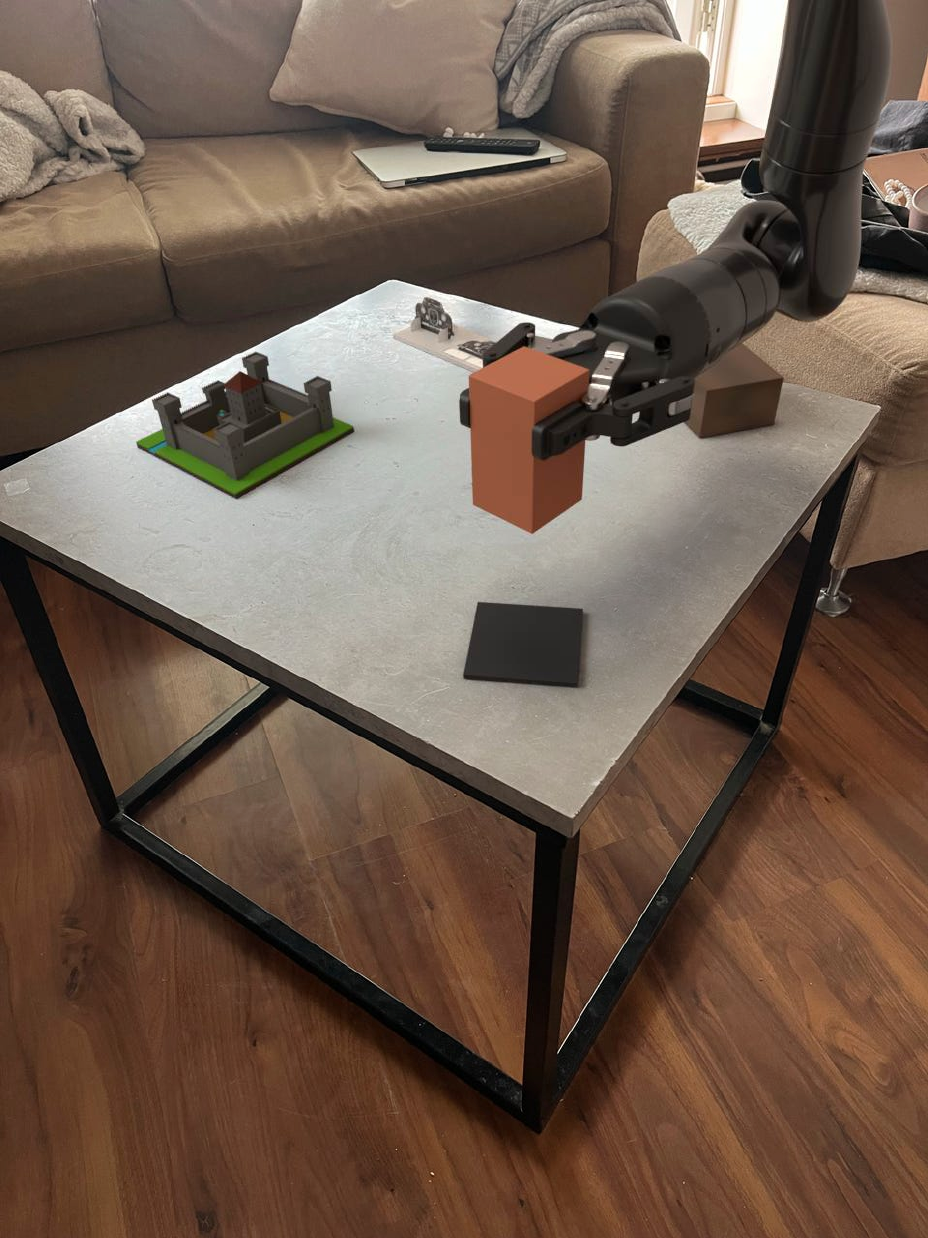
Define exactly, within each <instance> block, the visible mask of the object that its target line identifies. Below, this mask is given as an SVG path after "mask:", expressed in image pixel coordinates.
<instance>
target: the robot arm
mask: <svg viewBox="0 0 928 1238" xmlns="http://www.w3.org/2000/svg"><path fill="white" fill-rule="evenodd" d="M887 8H888V7H887V3H886V0H788V1H787V9H786V10H787V11H786V21H785V28H784V29H785V30H784V38H783V45H782V49H781V56H780V63H779V66H778V67H779V68H778V73H777V78H776V81H775V87H774V91H773V97H772V100H771V105H770V110H769V115H768V119H767V123H766V128H765V133H764V138H763V144H762V147H761V152H760V153H761V154H760V158H759V166H758V167H759V169H758V174H759V178H760V183H761V184H762V186H763V187H764V189H765V191H767V192H768V193H769V195H771V196H772V197H773V198H774V199H775V200H776V201H774V200H769V199H767V200H765V199H764V200H763V199H762V200H754V201H752V202H748V203H746V204H744V205H743V206H741V207H740V208H738V210H737V211H736V212H735V213H734V214H733V215H732V217H731V218H730V220H729V221H728V223H727V224H726V226H725V227H724V229H723V230H722V232H720V233H719V235H718V236H717V237H716V238H715V239H714V240H713V242H712V243H711V244H710V245H709V246H708V247H707V249H706V250H704V251H702V252H700V253H698V254H696V255H694V256H693V257H691V258H689V259H687V260H685V261H682V262H680V263H675V264H672V265H669V266H667V267H664V268H662V269H660V270H657V271H655V272H654V273H652V274H650V275H648V276H646V277H644V278H643V279H640V280H638V281H636V282H634V283H633V284H630V285H629V286H627V287H624V288H623V289H621V290H619V291H617V292H615V293H614V294H612V295H610V296H608V297H606V298H604V299H602V300H601V301H600V302H599V303H597V304H596V305H595V306H594V307H593V308H592V310H591V311H590V312H589V314H588V315H587V317H586V318H585V319H584V321H583V323H582V324H581V325H580V326H579V328H577V329H574V330H571V331H565V332H564V331H563V332H561V333H559V334H557V335H556V336H554V338H550V337H545V336H539V335H536V324H535V323H532V322H526V321H525V322H520V323H518V324H517V325H516V326H514V327H513V328H512V329H511V330H510V331H508V332H507V333H506V334H505V335H503V336H502V337H501V338H500V339H499V340H497V341H498V342H496V343H495V344H494V345H493V346H492V347H490V348H489V349H488V350H487V351H486V352H484V353H483V368H484V367H486V366H488V365H489V364H491V363H493V362H495V361H497V360H499V359H501V358H503V357H505V356H507V355H508V354H510V353H512V352H514V351H516V350H518V349H520V348H522V347H527V348H530V349H533V350H536V351H539V352H541V353H544V354H547V355H550V356H553V357H555V358H558V359H561V360H564V361H567V362H569V363H572V364H575V365H578V366H581V367H583V368H586V369H589V370H590V372H589V389H588V391H586V392H585V394H584V395H583V397H582V402H581V404H580V403H578V402H575V401H572V402H571V403H569V404H567V405H566V406H564V407H562V408H561V409H559V410H557V411H556V412H554V413H552V414H551V415H549V416H547V417H546V418H544V419H542V420H541V421H539V422H537V423H536V424H535V425H534V427H533V429H532V450H531V452H532V456H534V457H536V458H538V459H540V460H543V461H545V460H547V459H548V458H550V457H551V456H556V455H560V454H563V453H564V452H566V451H567V450H568V449H571V448H572V447H573V446H575V445H577V444H578V443H580V442H581V441H583V440H585V441H588V442H590V441H597V440H598V439H600V437H601V436H602V437H608V438H609V442H610V444H611V445H613V446H615V447H627V446H629V445H632V444H634V443H637V442H639V441H641V440H644V439H646V438H649V437H651V436H654V435H656V434H659V433H661V432H664V431H665V430H668V429H671V428H674V427H676V426H678V425H680V424H683V423H685V422H686V421H688V420H689V419H690V414H691V408H692V403H693V396H694V386H695V380H694V378H696V377H697V376H699V375H700V374H702V373H703V372H705V371H707V370H708V369H710V368H711V367H712V366H714V365H715V364H716V363H717V362H718V361H720V360H721V359H722V358H723V357H724V355H725V354H726V353H728V352H729V351H731V350H732V349H734V348H735V347H737V346H738V345H740V344H741V343H743V344H744V342H746V341H748V340H749V339H750V338H752V337H754V336H755V335H757V334H758V333H759V332H761V331H762V330H763V329H764V328H765V327H766V326H768V324H769V323H770V322H771V320H772V319H773V317H774V316H775V314H776V312H777V313H779V314H780V315H783V316H784V317H787V318H788V319H792V320H794V321H797V322H801V323H813V322H816V321H820V320H822V319H824V318H826V317H828V316H830V314H832V313H833V312H834V311H836V310H837V309H838V308H839V307H840V306H841V305H842V303H843V302H844V301H845V299H846V298H847V297H848V294H849V293H850V292H851V289H852V287H853V285H854V283H855V280H856V277H857V275H858V270H859V266H860V265H859V264H860V261H861V250H862V198H863V179H864V169H865V165H866V162H867V158H868V156H869V152H870V149H871V146H872V142H873V140H874V137H875V133H876V129H877V127H878V124H879V121H880V117H881V114H882V111H883V107H884V104H885V101H886V98H887V93H888V89H889V85H890V80H891V74H892V68H893V67H892V66H893V36H892V28H891V21H890V17H889V12H888V9H887ZM458 404H459V405H458V406H459V422H460V423H459V424H460V425H461V426H463V427H466V428H468V429H470V401H469V387H468V388H465V389H464V390H462V391H461V393H460V394H459V401H458ZM637 413H638V418H637V420H636V421H634V422H633V417H634V415H635V414H637Z"/></svg>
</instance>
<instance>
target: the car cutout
mask: <svg viewBox="0 0 928 1238" xmlns="http://www.w3.org/2000/svg"><path fill="white" fill-rule="evenodd" d="M414 311H415V316H414V319H413V320H412V321H411V323H410V326H409V327H406V328H404V329H402V330H399V331H397V332H395V333H393V334H392V338H393V339H395V340H397V341H399V342H400V343H401V342H402V343H404V344H406V345H409V346H411V347H413V348H416V349H418V350H420V351H423V352H425V353H427V354H430V355H432V356H434V357H437V358H439V359H441V360H443V361H446V362H448V363H451V364H454V365H456V366H458V367H460V368H462V369H465V370H468V371H470V372H472V373H474V372H476V371H478V370H480V369H482V368H483V353H484V352H486V351H487V350H488V349H489V348H490V347H492V346H493V345H494V344H495V343H496V342H498V341H499V340H495V339H493V338H490V337H487V336H485V335H482V334H480V333H477V332H474V331H472V330H470V329H467V328H465V327H463V326H459V325H457V324H454V323H453V319H452V317H451V315H450V314H449V313H447V312H445V309H444V307H443V304H442V303H441V302H440V301H439V300H436V299H434V298H431V297H430V296H429V297H428V296H425V297H423V301H422V302H417V303H416V304H415V310H414Z"/></svg>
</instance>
